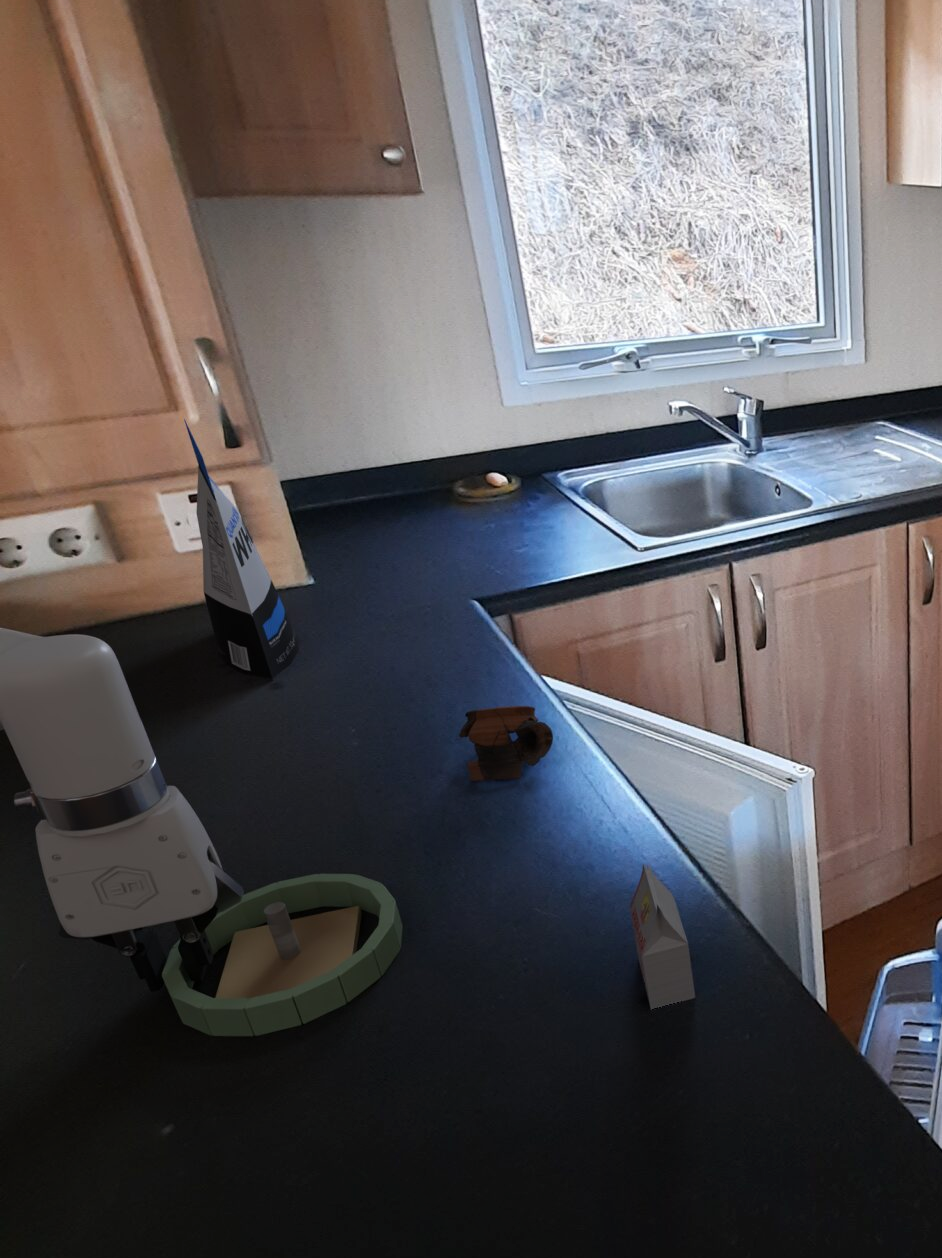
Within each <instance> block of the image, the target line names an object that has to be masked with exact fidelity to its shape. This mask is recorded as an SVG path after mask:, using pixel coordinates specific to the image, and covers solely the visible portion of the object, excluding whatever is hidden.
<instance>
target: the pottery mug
mask: <svg viewBox="0 0 942 1258" xmlns="http://www.w3.org/2000/svg"><path fill="white" fill-rule="evenodd" d="M535 711H536V708H535V706H529V705H511V706H497V707H489V708H482V709H481V708H480V709H473V710H469V711H466V712H465V714H464V717H466V718H467V721H466V723H464V724H463V726H462V727H461V729H460V732H459V733H458V736H459V738H461V739H463V738H467V737H468V740H469V742H470V743H472V744H473V745H474V746H473V747H474V751H475V754H476V757H477V760H473V761H469V762H466V769H467V771H468V774H469V777H470V781H471V782H483V781H496V782H497V781H504V780H505V781H506V780H517V779H521V778H522V776H523V772H522V769H523V763H525V764H526V765H527V766H529V767H534V766H536V765H537V764H538V763H539V762H540V761H541V759H542V758H544V757H545V756H546V755H547V754H548V753H549V751H550V750H551V747H552V745H553V741H554V734H553V731H552V729H551V727H550V726H549V725H548V724H546V722H543V721H539V718H537V716H536V714H535ZM514 733H515V734H516V736H517V738H516V739H515V740H513V739H512V738H511V735H510V734H514Z"/></svg>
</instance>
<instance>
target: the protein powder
mask: <svg viewBox="0 0 942 1258" xmlns="http://www.w3.org/2000/svg"><path fill="white" fill-rule="evenodd" d="M183 420H184V424H185V427H186V430H187V433H188V436H189V440H190V443H191V446H192V449H193V452H194V455H195V458H196V459H195V460H196V462H197V465H198V466H197V467H198V468H197V486H196V487H197V490H196V492H197V493H196V519H197V523H198V529H199V535H200V540H201V545H202V546H201V547H202V578H203V579H202V581H203V583H202V584H203V586H202V587H203V588H202V589H203V595H204V599H205V603H206V606H207V611H208V614H209V618H210V622H211V626H212V630H213V634H214V638H215V643H216V646H217V650H218V655H219V658H220V659H221V660H222V661H223V663H224V664H225V666H227V667H228V668H230V669H233V670H234V671H237V672H239V673H241V674H244V675H247V676H255V677H262V678H269V679H271V681H274V677H275V676H277V675H278V674H279V673H281V672H283V670H285V669H286V668H288V666H290V665H291V664H292V663H293V661H294V659H295V658H296V655H297V654H298V652H299V650H300V645H299V639H298V636H297V634H296V632H295V630H294V628H293V625H292V623H291V621H290V619H289V616H288V614H287V611H286V609H285V607H284V605H283V603H282V600H281V598H280V596H279V594H278V591H277V589H276V586H275V585H274V582H273V580H272V578H271V576H270V574H269V571H268V569H267V568H266V565H265V563H264V561H263V559H262V557H261V555H260V552H259V551H258V548H257V547H256V545H255V542H254V540H253V538H252V536H251V533H250V532H249V529H248V528H247V525H246V523H245V522H244V520H243V517H242V516H241V513H240V511H239V510H238V509H237V507H236V506H235V505H234V503H233V502H232V501H231V500H230V499H229V497H228V496H227V495H226V494H225V493H224V492H223V491H222V490H221V489H220V487H219V486H218V485H217V484H216V483H215V481H214V480H213V479H212V478H211V477H210V476H209V473H208V470H207V467H206V463H205V460H204V457H203V455H202V453H201V451H200V448H199V446H198V444H197V442H196V440H195V438H194V436H193V433H192V432H191V429H190V427H189V425H188V424H187V421H186V419H185V418H183Z"/></svg>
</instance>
